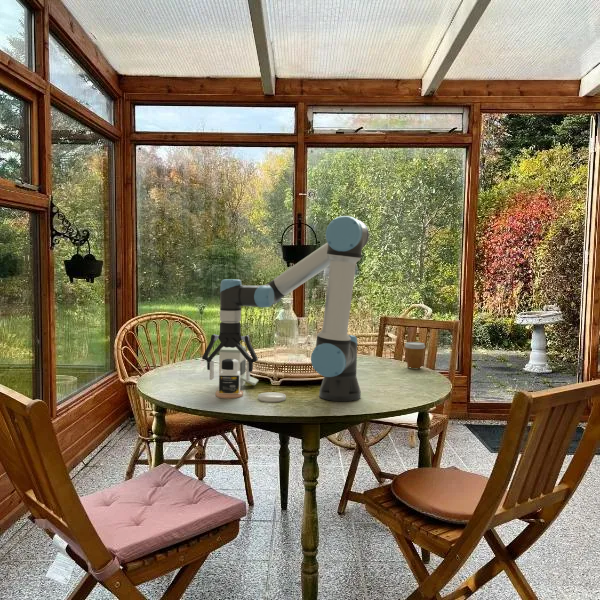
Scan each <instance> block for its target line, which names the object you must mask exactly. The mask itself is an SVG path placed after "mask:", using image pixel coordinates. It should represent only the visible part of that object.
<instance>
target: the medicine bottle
mask: <svg viewBox="0 0 600 600" xmlns="http://www.w3.org/2000/svg"><path fill="white" fill-rule="evenodd" d="M218 390H219V394H239V391H240V390H241V388H240V371H238V360H236V359H225V360H223V361H222V371H221V373H220V375H219V374H218Z"/></svg>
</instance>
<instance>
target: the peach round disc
mask: <svg viewBox="0 0 600 600" xmlns="http://www.w3.org/2000/svg"><path fill="white" fill-rule="evenodd" d="M215 397H217V398H220V399H229V400H231V399H240V398H242V397H244V391H243V390H241V389H240V391H239V394H219V389H218V390H216V391H215Z"/></svg>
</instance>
